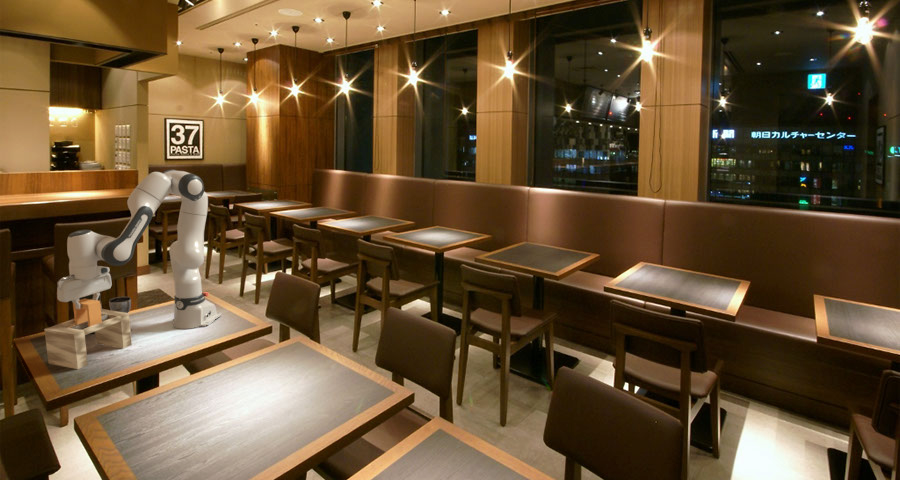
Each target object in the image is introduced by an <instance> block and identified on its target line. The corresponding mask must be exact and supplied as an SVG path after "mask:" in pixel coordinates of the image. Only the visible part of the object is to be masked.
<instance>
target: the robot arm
mask: <svg viewBox="0 0 900 480" xmlns="http://www.w3.org/2000/svg"><path fill="white" fill-rule="evenodd" d="M170 194H171V195H173V196H176V197H180V199H181V205H180V209H179V215H178V221H177V226H176V229H177V240H176V241H174V242H172V243H171V245H170V246H169V249H168V252H169V258H170V265H171V270H172V275H173V281H174V294H175V295H174V298H173V299H174V300H173V301H174V312H173V313H174V314H173V319H172V322H173V324H172V325H173V327H174V328H175V329H182V330H184V329H195V328H194V327H196V328H200V327H199V326H205V327H207V326H206V325H208V324H209V323H211V322H212V321H213V320H214V319H216V318H217V317H219V316H220V315H221V314H222V313H221V312H219V311H217V307H216V305H215V304H214V303H213V302H211V301H209V300H207V299H206V298H205V297H209V295H210V293H209V292H206V291H204V292H203V291H202V290H203V288H202V276H201V273H200V269H199V268H200V267H201V266H202V265H203V264H204V263H205V255H204V250H205V246H204V245H205V227H206V222H207V216H208V208H209V207H208V206H209V197H208V196H209V195H208V193H207V192H206V191H205V185H204V182H203V179H202V178H201V177H200V176H198V175H196V174H194V173H190V172H187V171H184V170H176V169H168V170H164V171H163V172H160V171H153V172H150V173H149V174H147V176H146V177H144V178H143V179H142V180H141V181H139V183H138V184H137V186H136V187H135V188H134V189H133V190H132V192H131V193H130V195H129V196H128V199H127V207H128V209H129V211H130V214H131V216H130V220H128V223H127V224H126V226H125V227H124V229H123V231H121V233H120V235H119V236H118V237H114V236H109V235H104V234H100V233H97V232H94V231H92V230H91V229H80V230H75V231H74V232H71V233H69V235H68V237H67V240H66V241H67V242H66V246H67V249H66V250H67V256H68V259H69V262H68V271H69V275H68V276H64V277H61V278H60V279H59V280H58V281H57V290H56V291H57V292H56V297H57V298H56V299H57V300H58V301H59V302H62V303H68V302H72V304H73V303H74V304H75V306H76V309H81V308H83V305H82V304H80V303H79V302H78V301H79V298H81V297H85V296H88V295H91V294H93V295H94V296H93V299H91V300H98V297H99V295H100V296H101V292H103V291H107V290H110V289H111V287H112V285H113V284H112V276H111V274H110V272H111V271H110V267H108V266H102V265H98V261H104V262H106V263H107V264H109V265H111V266H113V267H121V266H124V265H126V264H127V263H129V262H130V261H131V260H132V258H133V255H134V253H135V250H136V249H135V248H136V245H137V244H138V242H139V240H140V238H141V237H142V236H143V234H144V233H145V231H146V229H147V228H148V226H149V225H150V223H151V221H152V218H153V216H154V214H155V213H156V212H157V210H158V208H159V207H160V206H161V204H162V203H163V201H164V200H165V199H166V197H167V196H169V195H170ZM217 313H218V314H217ZM211 324H212V323H211ZM208 326H209V325H208Z"/></svg>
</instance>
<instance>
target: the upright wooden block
mask: <svg viewBox="0 0 900 480" xmlns="http://www.w3.org/2000/svg"><path fill="white" fill-rule="evenodd" d="M78 302H79V303H80V304H82V305H83V308H81V309H76V306H75V304H74V303H73V302H72V309H73V317H74V318H73V319H75V325H78V324H81V323H83V322H86V321H88V327H90V326H92V325H95V324H98V323H100V322H102V317H101V307H102V305H101V306H100V301H98V300H91V299H82V300H79V301H78ZM75 325H74V326H75Z"/></svg>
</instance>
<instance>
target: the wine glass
mask: <svg viewBox="0 0 900 480" xmlns="http://www.w3.org/2000/svg"><path fill="white" fill-rule="evenodd" d="M108 303H109V304H108V305H109V308H110V310H111V311H118V312H124V313H129V312H130V310H131V308H132V299H131V297H129V296H116V297H113V298H110V299H109V301H108ZM130 331H131V332H132V331H133V329H132V328H130Z"/></svg>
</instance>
